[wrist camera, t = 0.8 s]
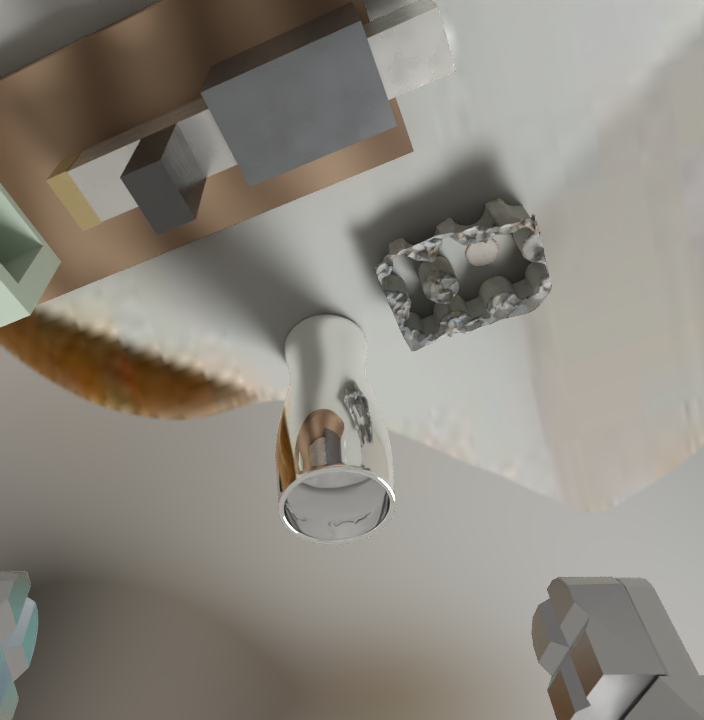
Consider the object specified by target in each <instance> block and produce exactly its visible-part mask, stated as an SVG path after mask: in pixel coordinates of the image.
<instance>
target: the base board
mask: <svg viewBox="0 0 704 720" xmlns="http://www.w3.org/2000/svg"><path fill="white" fill-rule="evenodd" d="M350 2H353V4H354V6H355V8H356V11H357V13H358V15H359V17H360V20H361V22H362V25H364V24H366V23H368V22H370V21H369V18H368V15H367V12H366V9H365V6H364V3H363V0H161V1H159V2H157V3H155V4H153V5H151V6H149V7H146V8H144V9H142V10H140V11H138V12H136V13H134V14H132V15H130V16H128V17H126V18H124V19H122V20H120V21H117V22H115V23H113V24H111V25H109V26H107V27H105V28H103V29H101V30H99V31H97V32H95V33H93V34H91V35H88V36H86V37H84V38H82V39H80V40H78V41H76V42H74V43H72V44H70V45H68V46H66V47H64V48H62V49H59V50H57V51H55V52H53V53H51V54H49V55H47V56H45V57H43V58H41V59H39V60H37V61H35V62H33V63H30V64H28V65H26V66H24V67H22V68H20V69H18V70H16V71H14V72H12V73H10V74H8V75H6V76H3V77H1V78H0V183H1V184H2V186H3V187H4V188H5V190H6V191H7V192H8V194H9V195H10V196H11V197H12V199H13V200H14V201H15V203H16V204H17V205H18V206H19V208H20V209H21V210H22V212H23V213H24V214H25V215H26V217H27V218H28V219H29V221H30V222H31V223H32V225H33V226H34V227H35V228H36V230H37V231H38V232H39V234H40V235H41V236H42V237H43V239H44V240H45V241H46V243H47V244H48V245H49V247H50V248H51V249H52V250H53V252H54V253H55V254H56V256H57V257H58V258H59V259H60V261H61V263H60V265H59V266H58V268H57V270H56V272H55V273H54V275H53V277H52V279H51V280H50V282H49V284H48V285H47V287H46V289H45V291H44V292H43V294H42V296H41V298H40V299H39V301H38V303H37V304H36V305H38V304H41V303H43V302H46V301H48V300H51V299H53V298H55V297H58V296H60V295H63V294H65V293H68V292H70V291H73V290H75V289H77V288H80V287H82V286H85V285H87V284H90V283H92V282H95V281H97V280H100V279H102V278H104V277H107V276H109V275H112V274H114V273H117V272H119V271H122V270H124V269H126V268H129V267H131V266H134V265H136V264H139V263H141V262H144V261H146V260H149V259H151V258H153V257H156V256H158V255H161V254H163V253H166V252H168V251H171V250H173V249H176V248H178V247H180V246H183V245H185V244H188V243H190V242H193V241H195V240H198V239H200V238H202V237H205V236H207V235H210V234H212V233H215V232H217V231H220V230H222V229H225V228H227V227H229V226H232V225H234V224H237V223H239V222H242V221H244V220H247V219H249V218H251V217H254V216H256V215H259V214H261V213H264V212H266V211H269V210H271V209H274V208H276V207H278V206H281V205H283V204H286V203H288V202H291V201H293V200H296V199H298V198H300V197H303V196H305V195H308V194H310V193H313V192H315V191H318V190H320V189H323V188H325V187H327V186H330V185H332V184H335V183H337V182H340V181H342V180H345V179H347V178H349V177H352V176H354V175H357V174H359V173H362V172H364V171H367V170H369V169H372V168H374V167H376V166H379V165H381V164H384V163H386V162H389V161H391V160H394V159H396V158H399V157H401V156H403V155H406V154H408V153H411V152H413V148H412V145H411V142H410V139H409V136H408V133H407V130H406V127H405V124H404V121H403V118H402V115H401V112H400V109H399V107H398V104H397V101H396V98H393V99H390V100H388V101H389V104H390V106H391V109H392V112H393V115H394V118H395V121H396V124H397V126H396V127H394V128H391V129H389V130H386V131H384V132H382V133H379V134H377V135H374V136H372V137H370V138H367V139H365V140H362V141H360V142H358V143H355V144H353V145H350V146H348V147H346V148H343V149H341V150H338V151H336V152H334V153H331V154H329V155H326V156H324V157H322V158H319V159H317V160H314V161H312V162H310V163H307V164H305V165H302V166H300V167H298V168H295V169H293V170H290V171H288V172H286V173H283V174H281V175H278V176H276V177H274V178H271V179H269V180H266V181H264V182H262V183H259V184H257V185H254V186H252V187H249V185H248V183H247V181H246V180H245V178H244V176H243V174H242V172H241V170H240V168H239V166H238V164H237V165H235V166H233V167H230V168H228V169H226V170H223V171H221V172H218V173H216V174H214V175H211V176H209V177H207V179H206V183H205V186H204V190H203V194H202V198H201V201H200V205H199V209H198V213H197V216H196V219H195V220H193V221H191V222H188V223H186V224H183V225H181V226H178V227H176V228H174V229H171V230H169V231H166V232H164V233H162V234H159V235H157V234H156V233H155V231H154V230H153V228H152V226H151V225H150V223H149V222H148V220H147V219H146V217H145V216H144V214H143V213H142V211H141V209H140V208H139V206H138V207H136V208H134V209H131V210H129V211H127V212H124V213H122V214H120V215H117V216H115V217H113V218H110V219H108V220H105V221H103V223H102V224H99V225H97V226H95V227H92V228H90V229H87V230H85V231H82V230H81V228H80V227H79V225H78V224H77V223H76V221H75V220H74V219H73V217H72V216H71V214H70V213H69V212H68V210H67V209H66V207H65V206H64V205H63V203H62V202H61V201H60V199H59V198H58V196H57V195H56V194H55V192H54V191H53V190H52V188H51V187H50V185H49V184H48V183H47V181H46V179H47V178H48V177H49V176H50V174H51V173H52V172H53V170H54V169H55V168H56V167H57V165H58V164H59V163H60V161H61V160H62V159H63V158H65V157H67V156H69V155H71V154H74V153H76V152H78V151H80V150H82V151H83V150H86V149H88V148H90V147H92V146H94V145H97V144H99V143H101V142H103V141H106V140H108V139H110V138H112V137H114V136H117V135H119V134H121V133H123V132H126V131H128V130H130V129H132V128H135V127H137V126H139V125H141V124H143V123H146V122H148V121H150V120H152V119H155V118H157V117H159V116H161V115H164V114H166V113H168V112H170V111H172V110H175V109H177V108H179V107H181V106H184V105H186V104H188V103H190V102H192V101H195V100H197V99H199V98H201V97H202V95H201V90H202V88H203V85H204V82H205V80H206V77H207V75H208V72H209V70H210V67H211V66H212V65H215V64H217V63H219V62H221V61H223V60H225V59H228V58H230V57H232V56H234V55H236V54H239V53H241V52H243V51H245V50H247V49H250V48H252V47H254V46H256V45H258V44H261V43H263V42H265V41H267V40H269V39H271V38H274V37H276V36H278V35H280V34H282V33H285V32H287V31H289V30H291V29H293V28H296V27H298V26H300V25H302V24H304V23H307V22H309V21H311V20H313V19H315V18H317V17H320V16H322V15H324V14H326V13H328V12H331V11H333V10H335V9H337V8H339V7H342V6H344V5H346V4H348V3H350Z"/></svg>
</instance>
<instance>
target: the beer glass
mask: <svg viewBox="0 0 704 720" xmlns="http://www.w3.org/2000/svg"><path fill="white" fill-rule="evenodd" d="M284 353H285V359H286V363H287V366H288V370H289V374H290V382H289V387H288V391H287V395H286V398H285V402H284V406H283V409H282V413H281V417H280V421H279V427H278V432H277V438H276V452H275V461H276V463H275V464H276V481H277V482H276V483H277V495H278V514H279V517H280V520H281V522H282V523H283V525H284V526H285V527H286V528H287V529H288V530H289V531H290V532H291V533H292V534H294V535H295V536H297V537H299V538H301V539H303V540H306V541H309V542H312V543H317V544H323V545H342V544H349V543H354V542H357V541H361V540H363V539H366V538H368V537H370V536H372V535H374V534H376V533H377V532H379V531H380V530H381V529H382V528H384V527H385V526H386V525H387V523H388V522H389V521H390V520H391V518H392V516H393V514H394V512H395V508H396V497H395V493H394V492H395V491H394V475H393V474H394V472H393V460H392V453H391V445H390V440H389V436H388V431H387V427H386V424H385V421H384V418H383V415H382V412H381V410H380V407H379V405H378V403H377V400H376V398H375V396H374V393H373V391H372V389H371V387H370V384H369V382H368V379H367V376H366V370H365V367H366V359H367V341H366V338H365V335H364V333H363V332H362V330H361V329H360V328H359V327H358V326H357V325H356V324H355V323H354V322H352V321H351V320H349V319H347V318H344V317H341V316H338V315H331V314H323V315H316V316H312V317H309V318H307V319H305V320H303V321H301V322H300V323H298V324H297V325H296V326H295V327H294V328H293V329H292V330H291V331H290V333H289V334H288V336H287V339H286V341H285V346H284Z"/></svg>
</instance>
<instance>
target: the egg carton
mask: <svg viewBox="0 0 704 720" xmlns="http://www.w3.org/2000/svg"><path fill="white" fill-rule="evenodd" d="M508 233H513V238H514V241H515V242H516V244H517V246H518V248H519V250H520V251H521V253H522V255H523V256H524V257H525V258H526V259H527V260H529V261H531V262H532V263H530V265H529V266H528V267H527V269H526V272H525V279H523V280H521V281H519V282H517V283H513V284H511V283H510V281H509V280H508V279H507V278H505V277H502V276H494V277H491V278H489V279H487V280H486V281H485V282H483V284H482V285H481V287H480V289H479V297H477V298H475V299H472V300H470V301H467V302H465V301H464V300H463V298H461V297H460V296H458V295H456V294H457V292H458V290H459V283H458V280H457V278H456V275H455V273H454V270H453V268H452V266H451V264H450V262H449V261H448V260H447V259H446V258H445V257H442V256H437V253H438V251H439V249H440V247H441V245H442V239H443V238H446V237H450V238H453V239H454V240H455V241H457V242H459V243H460V244H463V245H467V244H469V243H470V244H469V245H468V247H467V249H466V252H465V256H466V259H467V261H468V262H469V263H470V264H472V265H474V266H477V267H478V266H486V265H489V264H491V263H492V262H493V261H494V260H495V259H496V257H497V255H498V252H499V247H498V244H497V242H496V241H494V239H492V238H491V237H493V236H494V235H499V234H508ZM400 254H405V255H406V256H407V257H411V258H412V259H414V260H416V261H420V260H424V261H423V262H422V263H421V264H420V267H419V270H418V272H419V274H418V275H419V279H420V282H421V285H422V288H423V291H424V294H425V296H426V297H427V298H428V299H430V300H432V301H434V302H436V303H435V305H434V313H433V315H431V316H428V317H426V318H423V319H421V318H420V317H419V316H418V315H417V314H415V313H413V312H409V309H410V307H411V300H410V298H409V295H408V291H407V288H406V284H405V282H404V280H403V279H402V278H401V277H399V276H397V275H390V273H391V271H392V268H393V261H392V259H393V258H394V257H396V256H398V255H400ZM378 266H379V267H375V272H376V274H377V276H378V280H379V282H380V284H381V286H382V289H383V291H384V293H385V295H386V297H387V300H388V303H389V305H390V307H391V309H392V311H393V314H394V316H395V319H396V321H397V323H398V325H399V329H400V330H401V333H402V335H403V337H404V339H405V341H406V343H407V344H408V346H409V347H410V349H411V351H416V350H418V349H420V348H422V347H424V346H426V345H429V344H431V343H433V342H436V341H437V340H438V339H439V338H442V337H445V336H449V337H452V336H453V334H454V333H464V334H467V333H469V332H471V331H472V330H474V329H476V328H479V327H481V326H485V325H489V324H492V323H494V322H496V321H498V320H501V319H505V318H509V317H514V316H519V315H524V314H527V313H529V312H531V311H533V310H535V309H536V308H537V307H538V306H539V305H540V304H541V303H542V302H543V300H544V299H545V298H546V296H547V295H548V294H549V292H550V291H551V281H550V278H549V272H548V267H547V263H546V260H545V255H544V248H543V243H542V238H541V233H540V232H539V231H538V226H537V222H536V218H535V214H533V215H532V217H531V218H530V217H529V215H528V213H527V212H526V210H525V209H524V207H523V205H519V206H511V205H508V204H506V203H504V202H503V200H502V199H495V200H492V201H490V202H488V203H486V204H485V211H484V214H483V216H482V217H481V218H480V220H478V221H477V222H476V223H474V224H472V225H469V226H463V225H459V224H456V223H455V222H454V221H453V220H452V219H451V218H449V219H447V220H445V221H444V222H442V223H440V224H439V225H437V226H436V232H435V235H434V237H432V238H430V239H428V240H426V241H423V242H421V243H419V244H416V245H411V244H409V243H407V242H406V241H405V240H404V239H403V238H400V239H397V240H395V241H393V242H391V243H389V251H388V255H387V256H385V257H384V260H383V261H381V262H380V263H379V264H378Z"/></svg>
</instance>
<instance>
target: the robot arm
mask: <svg viewBox="0 0 704 720" xmlns="http://www.w3.org/2000/svg"><path fill="white" fill-rule="evenodd" d="M30 585H31V584H30V581H29V578H28V574H27V572H26V571H25V572H23V571H0V720H12V717H13V714H14V711H15V708H16V705H17V702H18V695H17V692H16V689H15V685H14V681H15V680H16V679H17V678H18V677H19V676H20V675H21V674H22V673H23V672H24V671H25V670H26V669H27V668H28V667H29V664H30V661H31V658H32V654H33V651H34V647H35V642H36V636H37V630H38V611H37V607H36V603H35V602H34V601H32V600H31V599H29V598H28V597H27V595H28V591H29V589H30ZM547 591H548V594H549V597H550V598H549V599H548V600H546V601H545V602H543V603H541V604H539V605H538V607H537V609H536V612H535V613H534V616H533V620H532V639H533V646H534V650H535V653H536V656H537V660H538V662H539V664H540V665H541V666H542V667H543V668H544V669H545V670H546V671H547V672H548V673H549V674H550V675H551V676H552V677H551V680H550V683H549V686H548V689H547V691H548V694H549V697H550V700H551V703H552V706H553V709H554V712H555V715H556V718H557V720H704V675H703V676H702V675H699V674H698V672H697V670H696V668H695V666H694V664H693V662H692V660H691V658H690V656H689V654H688V652H687V651H686V649H685V647H684V645H683V643H682V641H681V639H680V637H679V635H678V633H677V631H676V629H675V628H674V626H673V624H672V622H671V620H670V618H669V616H668V614H667V612H666V610H665V609H664V607H663V605H662V603H661V601H660V599H659V597H658V595H657V593H656V591H655V589H654V587H653V586H652V584H651V583H649V582H648V581H647V580H646V579H643V578H613V577H558V578H556V579H554V580H552V582H551V583H550V585H549V587H548V588H547Z"/></svg>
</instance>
